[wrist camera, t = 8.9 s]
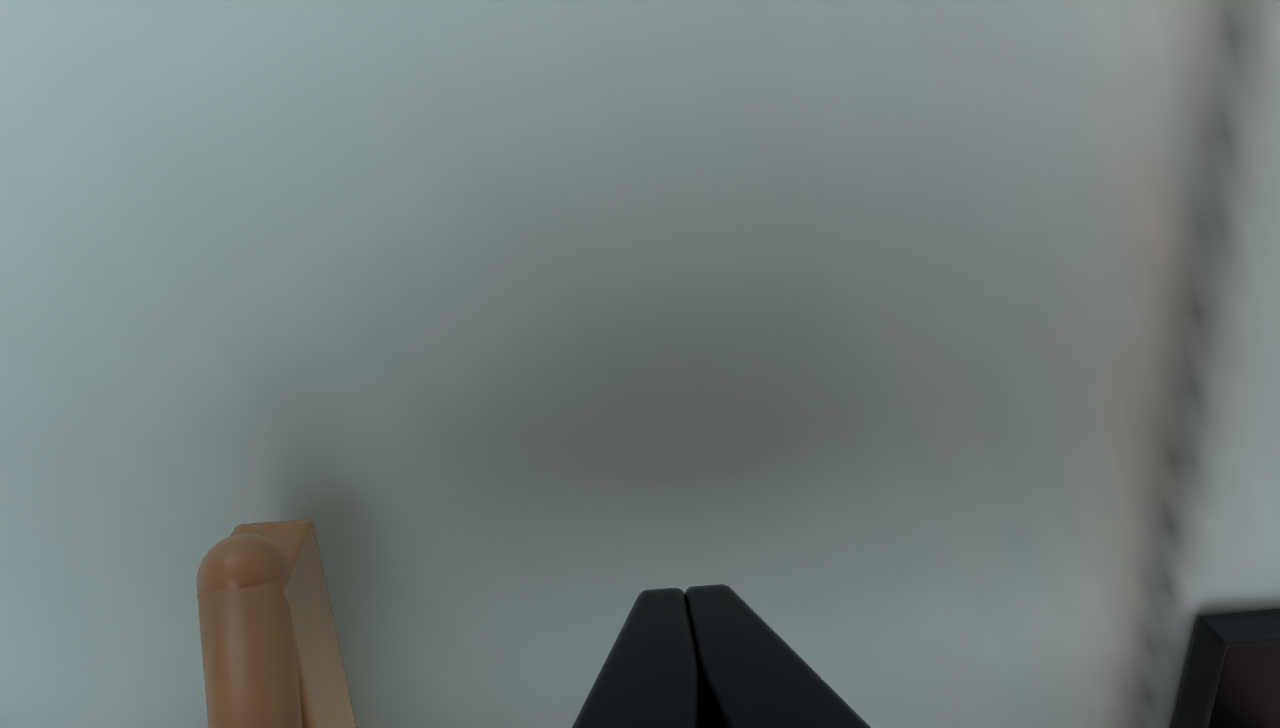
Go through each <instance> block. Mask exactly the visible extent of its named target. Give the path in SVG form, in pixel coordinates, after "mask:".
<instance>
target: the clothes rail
mask: <svg viewBox="0 0 1280 728" xmlns="http://www.w3.org/2000/svg"><path fill="white" fill-rule="evenodd" d="M1172 728H1280V609H1279V610H1266V611H1254V612H1241V613H1228V614H1215V615H1203V616H1199V617H1198V619H1197V623H1196V628H1195V632H1194V636H1193V641H1192V645H1191V649H1190V653H1189V658H1188V662H1187V666H1186V671H1185V675H1184V679H1183V683H1182V688H1181V692H1180V696H1179V701H1178V705H1177V709H1176V713H1175V718H1174V722H1173V726H1172Z"/></svg>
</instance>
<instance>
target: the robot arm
mask: <svg viewBox="0 0 1280 728" xmlns="http://www.w3.org/2000/svg"><path fill="white" fill-rule="evenodd" d="M572 728H871V727H870V726H869V725H868V724H867V723H866V722H865V721H864V720H863V719H862V718H861V717H860V716H859V715H858V714H857V713H856V712H855V711H854V710H853V709H852V708H851V707H850V706H849V705H848V704H847V703H846V702H845V701H844V700H842V699H841V698H840V697H839V696H838V695H837V694H836V693H835V692H834V691H833V690H832V689H831V688H830V687H829V686H828V685H827V684H826V683H825V682H824V681H823V680H822V679H821V678H820V677H819V676H818V675H817V674H816V673H815V672H814V671H813V670H812V669H811V668H810V667H809V666H808V665H807V664H806V663H805V662H804V661H803V660H802V659H801V658H800V657H799V656H798V655H797V654H796V653H795V652H794V651H793V650H792V649H791V648H790V647H789V646H788V645H787V644H786V643H785V642H784V641H783V640H782V639H781V638H780V637H779V636H778V635H777V634H776V633H775V632H774V631H773V630H772V629H771V628H770V627H769V626H768V625H767V624H766V623H765V622H764V621H763V620H762V619H761V618H760V617H759V616H758V615H757V614H756V613H755V612H754V611H753V610H752V609H751V608H750V607H749V606H748V605H747V604H746V603H745V602H744V601H743V600H742V599H741V598H740V597H739V596H738V595H737V594H736V593H735V592H734V591H733V590H732V589H731V588H730V587H728V586H726V585H722V584H720V585H707V586H694V587H689V588H688V589H686V591H685V595H684V593H683V591H682V590H681V589H679V588H667V589H653V590H645V591H643V592H641V593H640V594H639V596H638V598H637V600H636V602H635V604H634V606H633V608H632V610H631V611H630V613H629V615H628V617H627V619H626V621H625V623H624V625H623V627H622V629H621V631H620V633H619V635H618V637H617V639H616V641H615V643H614V645H613V647H612V649H611V651H610V653H609V655H608V657H607V659H606V661H605V663H604V665H603V667H602V669H601V671H600V673H599V675H598V677H597V679H596V681H595V683H594V685H593V687H592V689H591V691H590V693H589V695H588V697H587V699H586V701H585V703H584V705H583V707H582V709H581V711H580V713H579V715H578V717H577V719H576V721H575V723H574V725H573V727H572Z"/></svg>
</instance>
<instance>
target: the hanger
mask: <svg viewBox="0 0 1280 728" xmlns="http://www.w3.org/2000/svg"><path fill="white" fill-rule="evenodd" d="M197 598H198V606H199V618H200V630H201V642H202V654H203V667H204V679H205V691H206V703H207V715H208V727H209V728H356V723H355V718H354V713H353V709H352V704H351V699H350V694H349V690H348V685H347V680H346V675H345V670H344V666H343V661H342V656H341V651H340V647H339V642H338V637H337V632H336V628H335V623H334V618H333V613H332V608H331V604H330V599H329V594H328V589H327V585H326V580H325V575H324V570H323V566H322V561H321V556H320V551H319V547H318V542H317V537H316V532H315V527H314V524H313V522H312V521H311V520H294V521H280V522H266V523H251V524H242V525H239V526H237V527H236V528H235V530H234V531H233V533H232V535H231V536H230V537H229V538H226V539H224V540H222V541H221V542H219V543H217V544H216V545H215V546H214V547H213V548H212V549H210V550H209V551H208V553H207V554H206V556H205V557H204V558H203V560H202V563H201V565H200V567H199V570H198V574H197Z"/></svg>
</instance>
